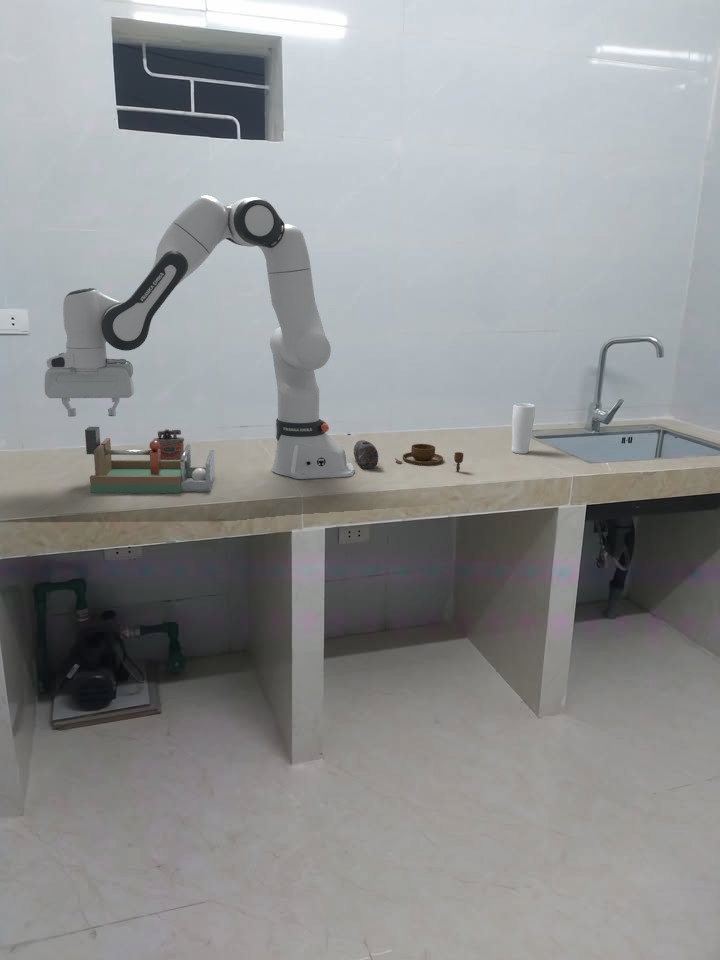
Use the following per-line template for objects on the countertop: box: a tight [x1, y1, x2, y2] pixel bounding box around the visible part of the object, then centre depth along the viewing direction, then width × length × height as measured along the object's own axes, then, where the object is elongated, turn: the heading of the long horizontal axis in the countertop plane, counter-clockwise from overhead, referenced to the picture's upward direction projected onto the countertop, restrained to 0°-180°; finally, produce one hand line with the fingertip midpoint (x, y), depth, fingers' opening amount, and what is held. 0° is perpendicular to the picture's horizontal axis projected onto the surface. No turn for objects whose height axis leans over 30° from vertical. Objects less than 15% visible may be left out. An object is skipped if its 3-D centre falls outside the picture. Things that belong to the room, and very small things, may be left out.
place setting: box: [394, 443, 464, 473], centre depth 214 cm, size 18×20×6 cm
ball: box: [191, 468, 206, 481], centre depth 188 cm, size 4×4×4 cm
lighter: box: [152, 428, 185, 460], centre depth 203 cm, size 8×3×10 cm, turn 105°
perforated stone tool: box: [353, 439, 379, 469], centre depth 212 cm, size 15×5×7 cm, turn 13°
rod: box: [84, 426, 161, 474], centre depth 184 cm, size 17×4×11 cm, turn 96°
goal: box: [180, 443, 216, 493], centre depth 187 cm, size 7×14×8 cm, turn 6°
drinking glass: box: [511, 402, 536, 455], centre depth 231 cm, size 7×7×15 cm
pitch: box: [89, 437, 188, 494], centre depth 185 cm, size 21×16×10 cm
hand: (92, 415), depth 181 cm, fingers open, 8 cm apart
